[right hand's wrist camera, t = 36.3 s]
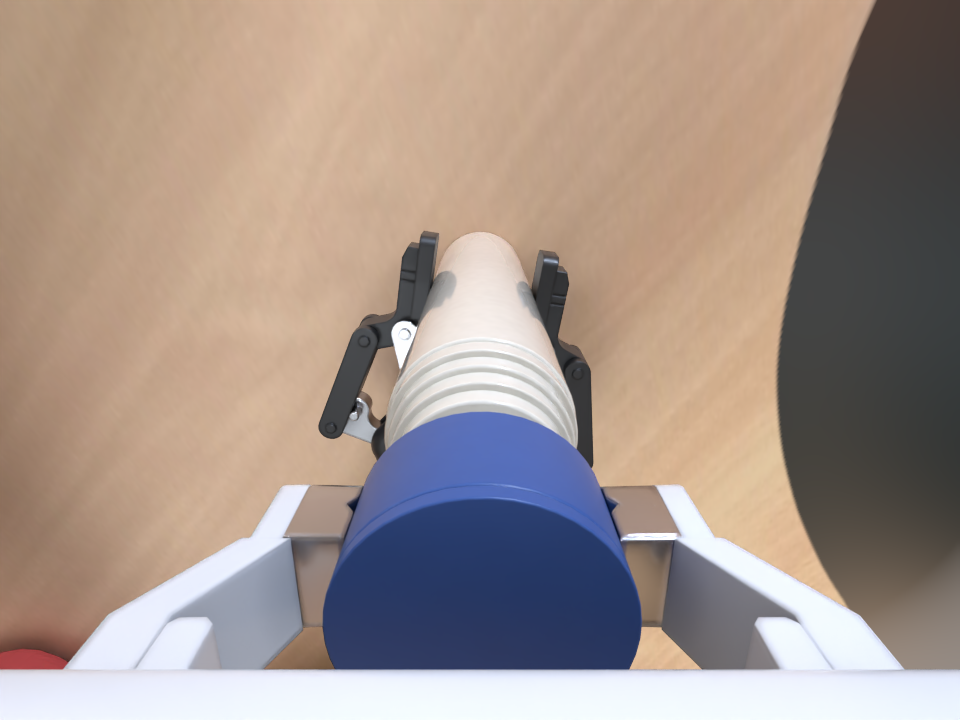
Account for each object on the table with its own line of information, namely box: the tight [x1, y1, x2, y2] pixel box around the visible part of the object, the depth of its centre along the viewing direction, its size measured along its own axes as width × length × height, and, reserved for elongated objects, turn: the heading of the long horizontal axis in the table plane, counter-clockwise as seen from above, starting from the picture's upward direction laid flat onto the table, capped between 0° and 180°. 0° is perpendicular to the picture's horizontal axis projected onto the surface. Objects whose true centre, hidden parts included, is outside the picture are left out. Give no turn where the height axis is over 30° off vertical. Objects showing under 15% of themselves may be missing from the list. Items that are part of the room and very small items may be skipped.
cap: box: [322, 412, 642, 670], centre depth 9 cm, size 4×4×3 cm
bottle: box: [384, 232, 578, 450], centre depth 20 cm, size 5×5×25 cm
